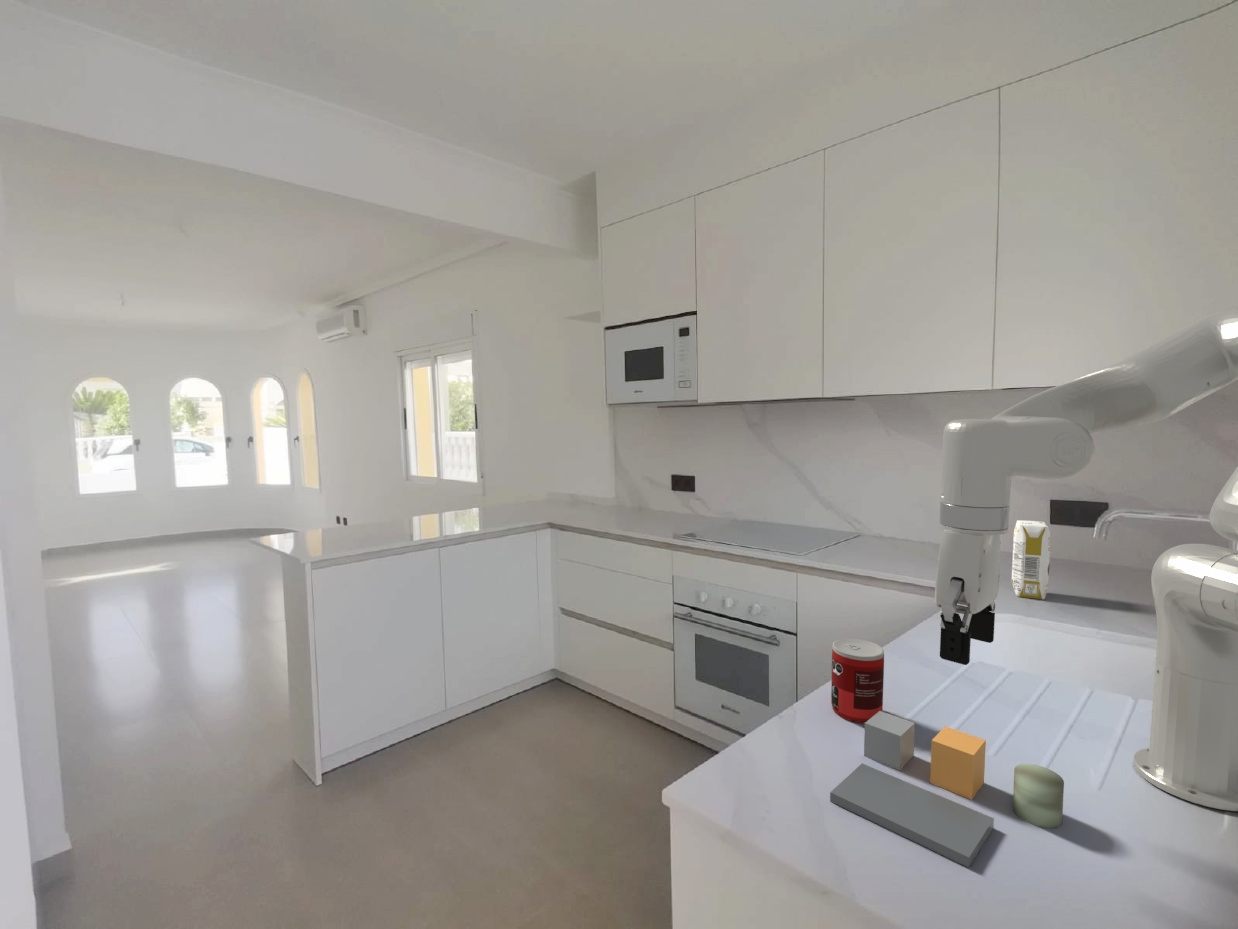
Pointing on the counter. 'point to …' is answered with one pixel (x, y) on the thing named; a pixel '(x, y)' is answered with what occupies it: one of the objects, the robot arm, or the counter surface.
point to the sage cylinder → (1038, 795)
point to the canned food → (857, 679)
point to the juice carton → (1031, 559)
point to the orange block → (958, 762)
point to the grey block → (889, 740)
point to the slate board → (914, 813)
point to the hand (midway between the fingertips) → (967, 650)
